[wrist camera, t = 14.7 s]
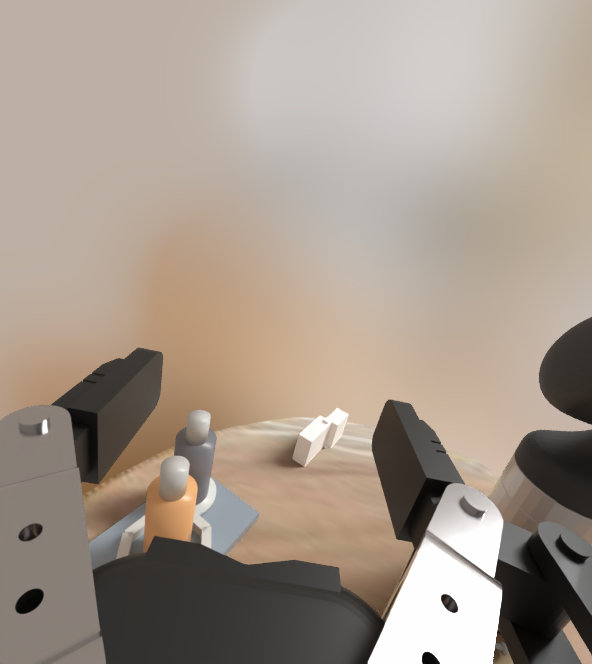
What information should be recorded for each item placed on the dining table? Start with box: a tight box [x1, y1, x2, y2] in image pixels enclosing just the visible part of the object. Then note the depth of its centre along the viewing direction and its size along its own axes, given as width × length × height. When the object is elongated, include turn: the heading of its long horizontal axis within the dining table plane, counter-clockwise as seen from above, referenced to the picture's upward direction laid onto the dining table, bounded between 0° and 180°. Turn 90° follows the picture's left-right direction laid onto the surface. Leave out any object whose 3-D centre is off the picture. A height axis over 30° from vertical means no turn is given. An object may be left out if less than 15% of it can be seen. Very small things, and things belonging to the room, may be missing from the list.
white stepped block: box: [292, 408, 349, 467], centre depth 54 cm, size 15×11×6 cm
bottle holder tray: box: [89, 410, 259, 570], centre depth 33 cm, size 16×11×13 cm
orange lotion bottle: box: [143, 456, 198, 553], centre depth 31 cm, size 4×4×12 cm
